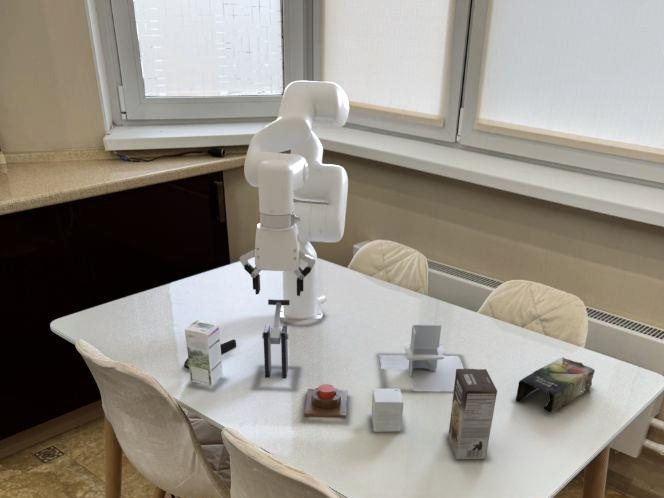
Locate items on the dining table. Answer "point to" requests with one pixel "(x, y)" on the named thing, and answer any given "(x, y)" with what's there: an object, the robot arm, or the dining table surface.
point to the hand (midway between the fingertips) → (278, 293)
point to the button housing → (326, 404)
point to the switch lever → (277, 320)
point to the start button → (326, 391)
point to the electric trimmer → (224, 348)
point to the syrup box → (204, 352)
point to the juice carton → (558, 382)
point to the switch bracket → (268, 350)
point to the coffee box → (471, 413)
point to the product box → (387, 410)
